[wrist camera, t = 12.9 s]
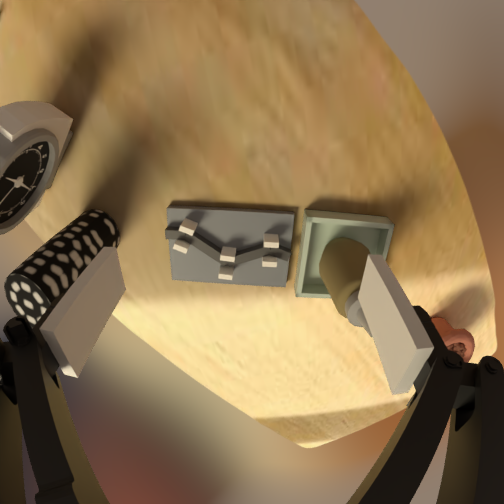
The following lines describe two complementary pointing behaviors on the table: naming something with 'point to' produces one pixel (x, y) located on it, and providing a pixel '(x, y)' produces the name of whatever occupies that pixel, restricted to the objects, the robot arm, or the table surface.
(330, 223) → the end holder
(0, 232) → the alarm clock
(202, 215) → the grey peg board
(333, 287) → the squeeze bottle
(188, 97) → the table surface
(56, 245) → the white-spotted black cylinder
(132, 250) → the table surface
